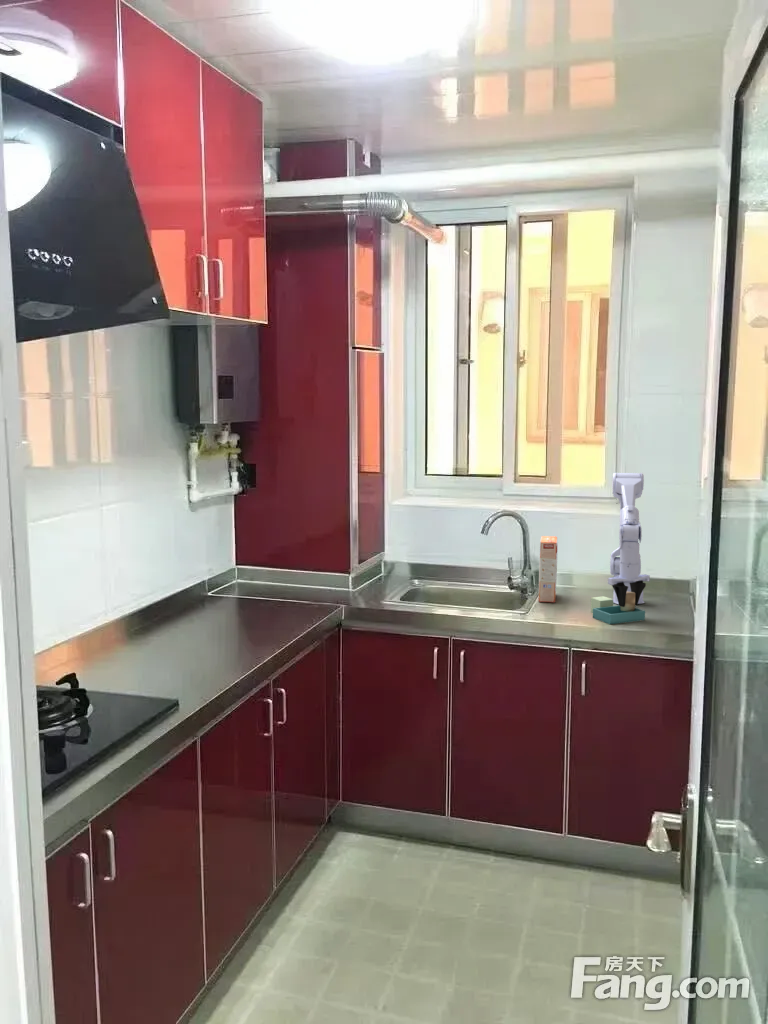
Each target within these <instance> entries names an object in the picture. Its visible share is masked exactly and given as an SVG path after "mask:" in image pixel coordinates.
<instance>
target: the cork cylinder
mask: <svg viewBox="0 0 768 1024" xmlns="http://www.w3.org/2000/svg"><path fill="white" fill-rule="evenodd" d="M635 608H636V605H635V593H634V592H626V599H625V607H622V606H621V611H626V612H632V611H635Z"/></svg>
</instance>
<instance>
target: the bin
mask: <svg viewBox="0 0 768 1024" xmlns="http://www.w3.org/2000/svg"><path fill="white" fill-rule="evenodd" d="M592 618H593V619H595V620H598V621H600V622H602V623H605V624H608V625H615V624H624V623H625V622H626V623H631V622H633V621H634V622H641V621H640V620H642V621H645V620H646V610H645V609H641V608H638V607H635V611H632V612H626V611H621V606H619V605H613V606H610V607H601V608H593V613H592ZM634 622H633V623H634ZM626 623H625V624H626Z"/></svg>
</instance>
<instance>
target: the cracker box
mask: <svg viewBox="0 0 768 1024" xmlns="http://www.w3.org/2000/svg"><path fill="white" fill-rule="evenodd" d="M538 567H539V568H538V570H539V571H538V573H539V574H538V602H539V603H556V596H557V593H556V592H557V578H558V577H557V576H558V574H557V573H558V572H557V571H558V537H557V536H554V535H552V536H551V535H542V536H541V537H540V543H539V565H538Z"/></svg>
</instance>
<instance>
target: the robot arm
mask: <svg viewBox="0 0 768 1024" xmlns="http://www.w3.org/2000/svg"><path fill="white" fill-rule="evenodd" d="M611 481H612V489H611V490H612V494H613V495H612V497H613V498H616V499H618V503H619V530H618V541H619V542H618V543H619V546H618V547H617V548H616V549H614V550H613V551H611V554H610V558H609V559H610V561H609V563H610V564H609V573H610V575H611V576H613V577H608V578H607V585H610V586H612V589H613V593H612V594H613V595H612V596H613V598H612V599H613V604H616V605H618V606H622V607H625V599H626V592H634V593H635V606H638V605H640V604H645V601H644V589H645V588H646V587H647V586H646V584H647V583H646V582H650V577H651V575H649V574H644V573H643V574H641V571H642V570H641V569H642V567H641V566H642V563H641V562H642V561H641V554H640V544H641V542H642V537H643V535H642V531H643V530H642V526H641V522H640V511H639V509H638V508H637V507H636V500H637V499H639V498H641V496H642V494H643V490H644V486H645V485H644V483H645V478H644V473H643V472H613V473H612V480H611Z"/></svg>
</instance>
